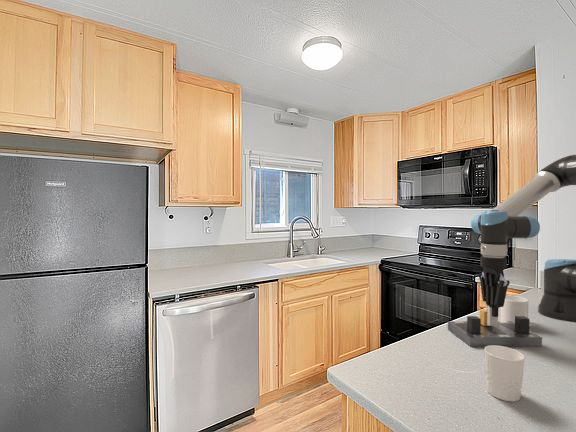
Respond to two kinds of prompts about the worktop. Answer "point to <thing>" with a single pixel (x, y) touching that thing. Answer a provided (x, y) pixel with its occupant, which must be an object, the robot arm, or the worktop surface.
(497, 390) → the white cup
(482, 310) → the toggle
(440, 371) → the worktop surface
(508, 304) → the mug
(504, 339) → the panel
